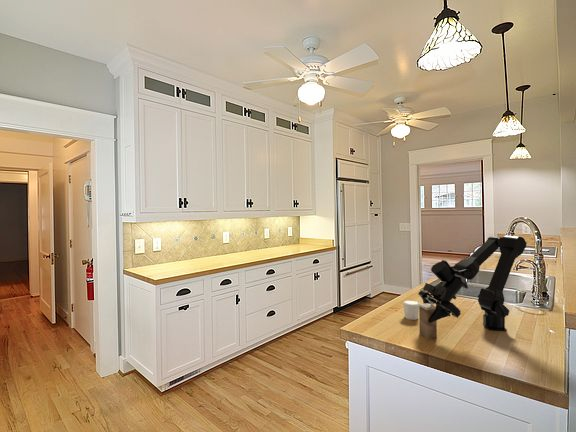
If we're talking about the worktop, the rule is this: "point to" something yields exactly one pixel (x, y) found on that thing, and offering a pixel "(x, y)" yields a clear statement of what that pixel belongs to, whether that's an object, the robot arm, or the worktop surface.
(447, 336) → the worktop surface
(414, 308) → the white cylinder
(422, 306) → the walnut block
